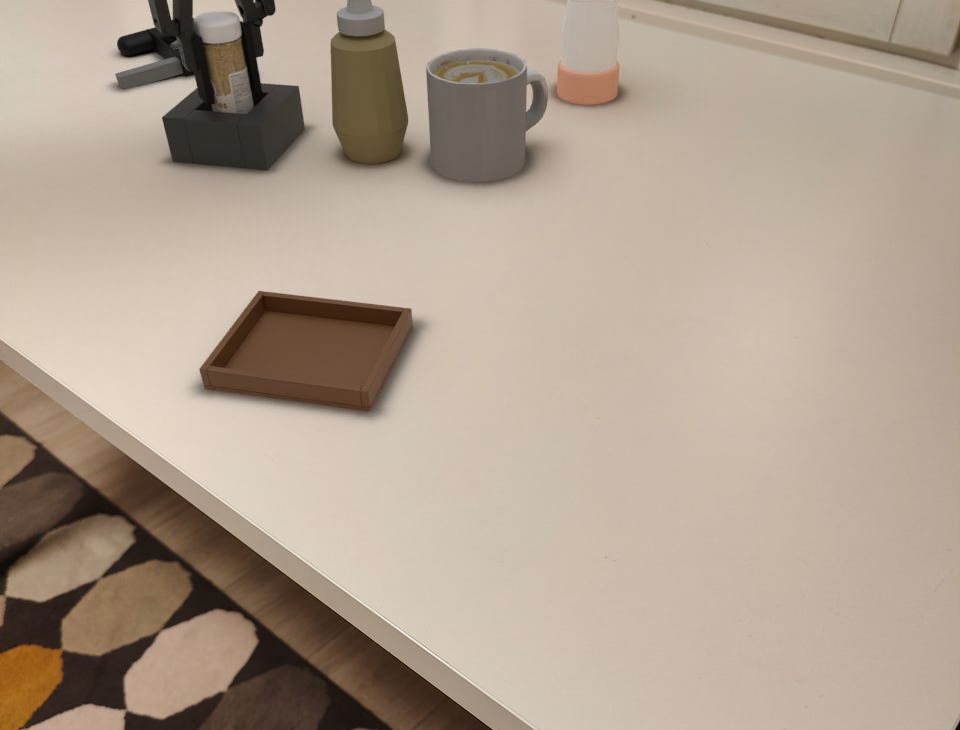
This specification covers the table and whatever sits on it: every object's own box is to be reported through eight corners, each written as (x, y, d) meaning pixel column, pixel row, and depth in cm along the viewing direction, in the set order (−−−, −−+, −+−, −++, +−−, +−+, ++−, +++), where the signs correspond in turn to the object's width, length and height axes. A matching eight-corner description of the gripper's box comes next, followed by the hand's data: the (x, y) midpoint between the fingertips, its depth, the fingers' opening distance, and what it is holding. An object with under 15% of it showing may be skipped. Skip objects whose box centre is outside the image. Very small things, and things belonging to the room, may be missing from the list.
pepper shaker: (628, 100, 112) (644, -85, 99) (571, 109, 110) (580, -77, 97) (601, 79, 117) (613, -99, 104) (547, 88, 115) (552, -93, 102)
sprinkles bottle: (211, 148, 104) (182, 17, 95) (243, 134, 106) (219, 6, 97) (238, 159, 102) (211, 26, 92) (270, 145, 104) (248, 14, 95)
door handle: (132, 85, 111) (257, 49, 117) (83, 39, 124) (198, 8, 129) (141, 113, 114) (263, 76, 119) (92, 65, 126) (205, 33, 132)
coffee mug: (450, 191, 95) (446, 90, 88) (418, 152, 102) (412, 56, 95) (570, 167, 99) (575, 69, 92) (531, 132, 105) (534, 38, 99)
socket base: (172, 163, 101) (161, 117, 98) (216, 123, 109) (207, 79, 105) (267, 172, 99) (259, 125, 96) (305, 130, 107) (298, 85, 103)
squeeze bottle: (419, 164, 100) (407, -22, 88) (343, 175, 98) (321, -14, 86) (401, 134, 106) (388, -45, 93) (330, 144, 104) (307, -37, 92)
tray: (204, 390, 72) (198, 369, 70) (262, 311, 80) (258, 290, 78) (370, 413, 69) (367, 391, 68) (413, 329, 77) (411, 308, 76)
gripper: (91, -152, 79) (160, 125, 94) (287, -175, 85) (321, 88, 101) (68, -165, 83) (138, 101, 99) (256, -186, 90) (293, 67, 106)
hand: (230, 94), depth 100 cm, fingers closed on sprinkles bottle, 5 cm apart
